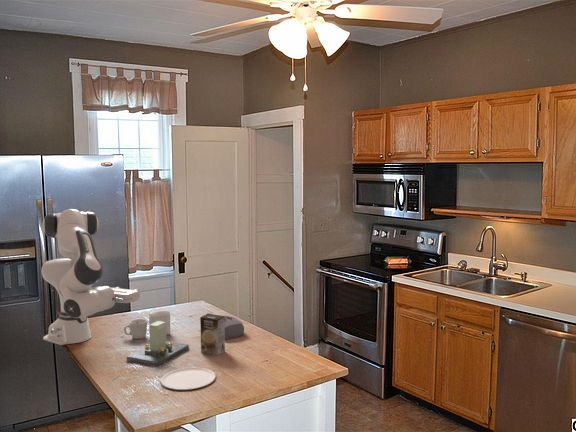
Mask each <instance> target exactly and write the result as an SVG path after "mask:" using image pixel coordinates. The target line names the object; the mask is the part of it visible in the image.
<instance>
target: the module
mask: <svg viewBox="0 0 576 432" xmlns="http://www.w3.org/2000/svg"><path fill="white" fill-rule="evenodd" d="M148 327H149V328H148V329H149V330H148V331H149V345H150V350H152V351H158V353H160V352H161V349H160V347H161V346H164V350H165V349H166V341H167V335H166V322H162V321H157V322H155V323H152V324H150V325H149V324H148Z"/></svg>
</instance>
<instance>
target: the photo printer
mask: <svg viewBox="0 0 576 432" xmlns="http://www.w3.org/2000/svg"><path fill="white" fill-rule="evenodd" d="M148 314H149V315H148V326H149V325H150V324H152V323H155V322H157V321H162V322H166V336H168V335H171V313H170V310H168V309H157V310H153V311H151V312H150V313H148Z"/></svg>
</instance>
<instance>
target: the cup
mask: <svg viewBox="0 0 576 432" xmlns="http://www.w3.org/2000/svg"><path fill="white" fill-rule="evenodd" d="M147 327H148V320H147V319H145V318H137V319H133V320H130V321H129V324H126V325H125V326H124V327H123V332H124V334H125V335H126V336H131V338H132V339H135V340H142V339H144V338H146V337H147ZM127 328H129V332H128V331H126V330H127Z"/></svg>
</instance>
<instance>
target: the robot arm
mask: <svg viewBox="0 0 576 432" xmlns="http://www.w3.org/2000/svg"><path fill="white" fill-rule="evenodd" d="M41 226H42V230H43V234H44V235H45V236H47V238H51V239H55V238H56V240H57V249H58V250H57V251H58V252H59V254H60V255H61V256H63V257H64V258H55V259H51V260H47V261H45V262H44V263H43V264H42V266H41V271H40V272H41V276H42V279H44V281H46V282H47V283H48V284H50V285H52V287H54V288H55V290H56V291H57V293H58V295H59V300H60V310H59V311H57V315H58V318H57V319H56V320H55V321H54V322H53V323H51V324H50V325H49V327H48V330H47V331H48V334H45V336H43V338H42V340H44V341H45V342H50V343H53V344H56V345H59V346H62V345H63V346H64V345H67V344H76V343H77V344H78V343H83V342H86V341H88V340H90V339H91V338H92V337H93V336H92V332H91V330H90V323H89V318H88V317H90V316H93V315H94V314H96V313H99V312H100V313H101V312H103V311H106V310H108V309H109V310H110V309H112V308H113V307H114V306H115V304H116V303H119V304H130V303H133V302H137V301H139V300H140V289H139V288H135V289H128V288H121V287H120V286H116V287H111V286H108V285H102V286H94V287H92V286H93V285H94V284H95V283H97V282H98V281H99V280H100V279H101V278H102V277H103V273H104V271H103V266H102V264H101V262H100V261H99V258H98V255H97V252H96V247H95V244H94V240H93V238H92V236H95V235H96V233H98V229H99V226H100V222H99V218H98V217H97V214H95V213H94V212H92V211H79V210H78V209H74V208H69V209H65V210H63V211H62V212H57V213H55V212H52V213H47V214H46V215H45V216H44V217H43V220H42V224H41Z"/></svg>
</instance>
